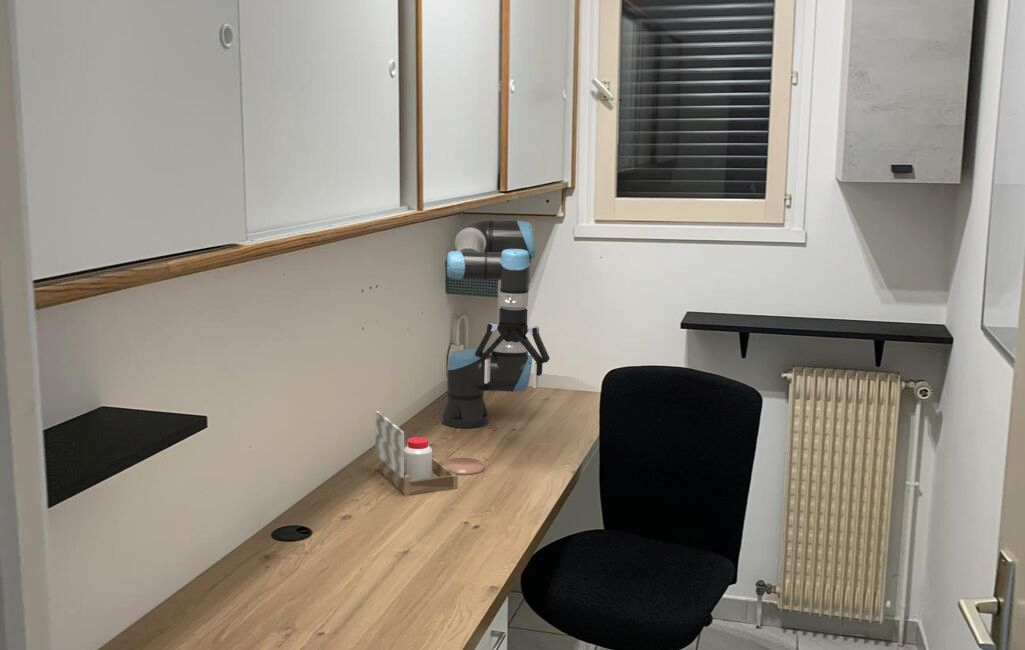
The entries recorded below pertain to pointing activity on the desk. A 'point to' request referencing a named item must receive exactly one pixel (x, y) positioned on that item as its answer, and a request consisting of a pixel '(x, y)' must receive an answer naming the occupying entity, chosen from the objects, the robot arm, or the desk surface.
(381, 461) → the frame
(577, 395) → the desk surface
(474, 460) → the saucer
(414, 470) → the pill bottle
